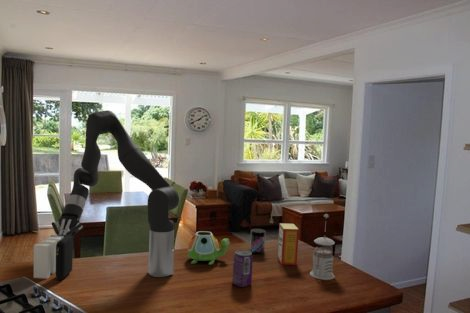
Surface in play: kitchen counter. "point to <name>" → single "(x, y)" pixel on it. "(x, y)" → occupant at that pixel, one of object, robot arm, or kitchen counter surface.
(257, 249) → the supplement container
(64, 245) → the carrying case or bag
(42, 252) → the ivory domino
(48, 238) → the ivory domino
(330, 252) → the french press
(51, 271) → the ivory domino
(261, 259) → the kitchen counter surface
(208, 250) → the turtle holder
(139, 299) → the kitchen counter surface
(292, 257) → the baking soda box
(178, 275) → the kitchen counter surface
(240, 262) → the beverage can
